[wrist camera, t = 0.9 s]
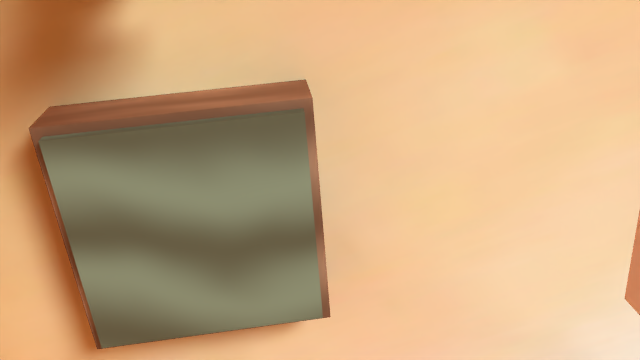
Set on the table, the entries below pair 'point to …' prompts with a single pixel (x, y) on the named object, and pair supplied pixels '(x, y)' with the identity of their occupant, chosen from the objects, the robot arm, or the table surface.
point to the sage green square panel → (189, 210)
